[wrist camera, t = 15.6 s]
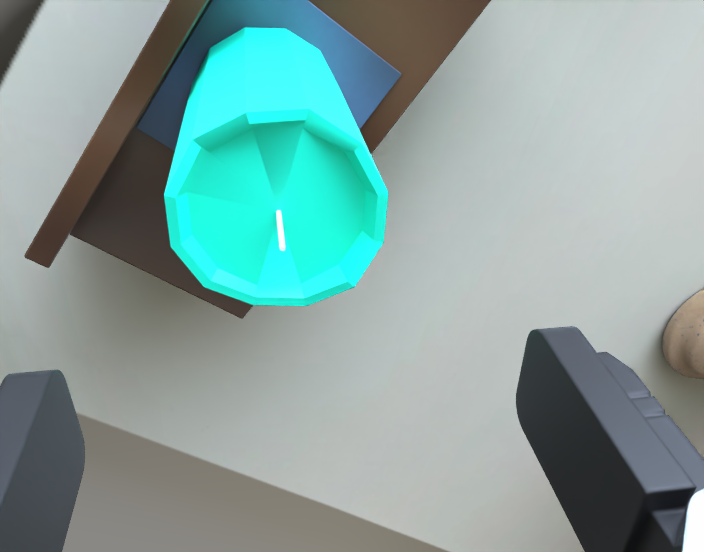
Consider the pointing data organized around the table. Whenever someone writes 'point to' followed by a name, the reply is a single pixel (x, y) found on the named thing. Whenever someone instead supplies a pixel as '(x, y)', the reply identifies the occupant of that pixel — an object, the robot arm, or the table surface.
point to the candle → (272, 176)
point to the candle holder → (686, 338)
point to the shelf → (172, 95)
